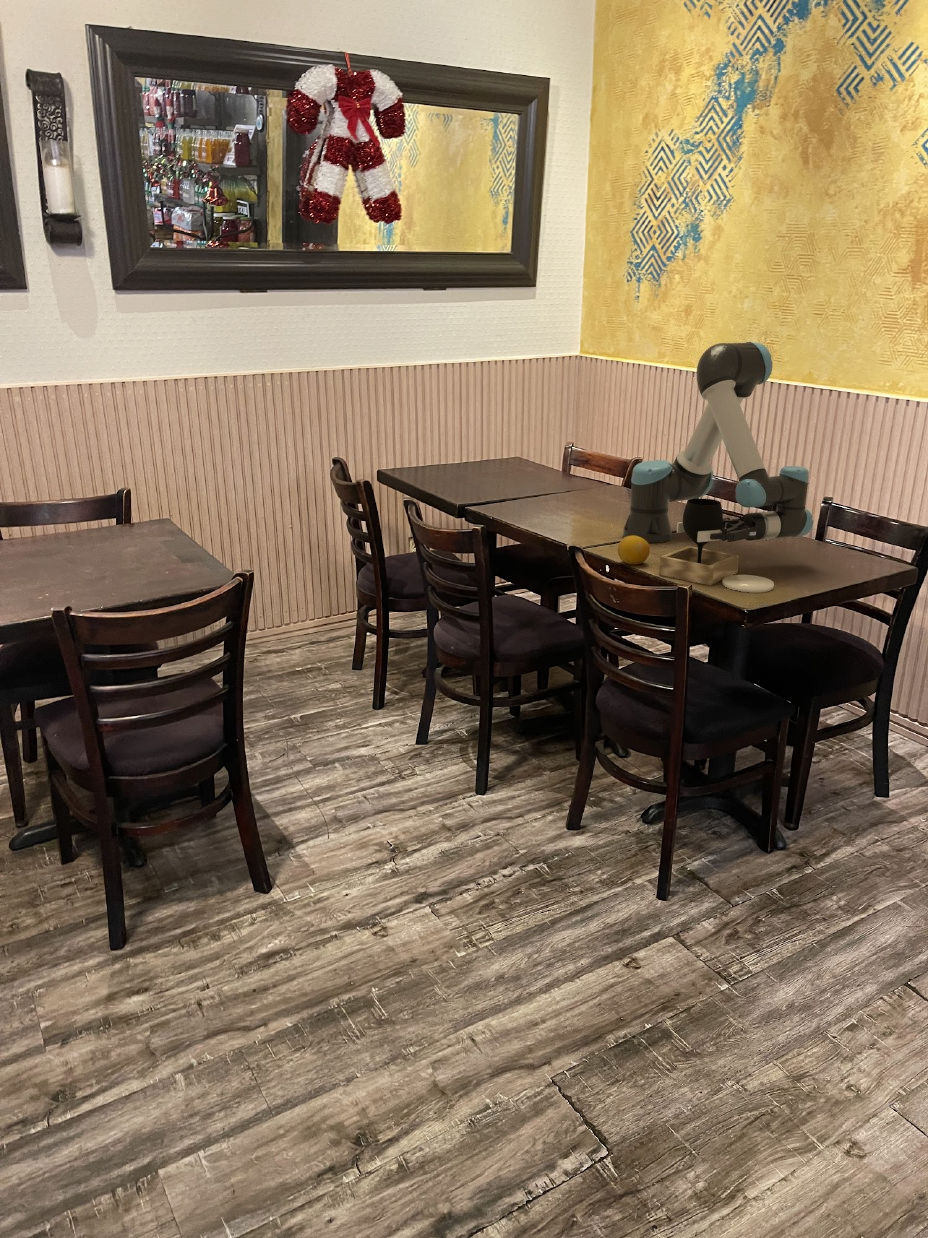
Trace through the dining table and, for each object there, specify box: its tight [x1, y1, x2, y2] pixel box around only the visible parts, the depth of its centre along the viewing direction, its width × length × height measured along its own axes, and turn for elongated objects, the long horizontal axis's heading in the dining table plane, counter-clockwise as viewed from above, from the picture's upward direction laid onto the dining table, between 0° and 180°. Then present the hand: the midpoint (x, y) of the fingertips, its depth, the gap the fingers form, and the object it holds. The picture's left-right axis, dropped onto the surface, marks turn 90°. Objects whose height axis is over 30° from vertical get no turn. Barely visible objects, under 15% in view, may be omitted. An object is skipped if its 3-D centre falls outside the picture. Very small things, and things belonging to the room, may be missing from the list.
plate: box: [721, 574, 775, 594], centre depth 249 cm, size 13×13×1 cm
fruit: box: [617, 536, 651, 565], centre depth 268 cm, size 9×8×8 cm
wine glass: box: [682, 498, 724, 564], centre depth 256 cm, size 10×10×20 cm
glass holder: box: [658, 545, 740, 586], centre depth 259 cm, size 15×15×5 cm
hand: (687, 532), depth 254 cm, fingers closed on wine glass, 10 cm apart
